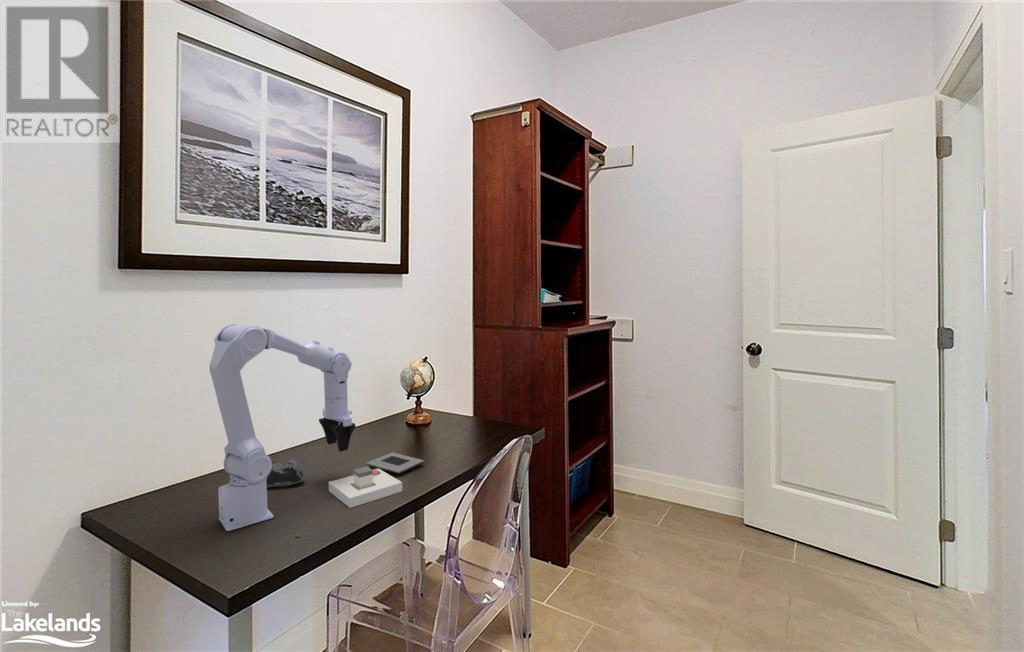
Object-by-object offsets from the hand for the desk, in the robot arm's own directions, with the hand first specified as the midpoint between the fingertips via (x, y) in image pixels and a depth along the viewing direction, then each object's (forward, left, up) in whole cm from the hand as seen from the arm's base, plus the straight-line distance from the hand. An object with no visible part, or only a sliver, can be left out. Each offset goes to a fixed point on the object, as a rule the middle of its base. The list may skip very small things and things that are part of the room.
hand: (337, 446), depth 128 cm
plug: (+2, -11, -10) cm, 15 cm away
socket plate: (+3, -10, -10) cm, 14 cm away
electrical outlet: (+17, 0, -10) cm, 20 cm away
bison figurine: (-11, +11, -10) cm, 18 cm away
